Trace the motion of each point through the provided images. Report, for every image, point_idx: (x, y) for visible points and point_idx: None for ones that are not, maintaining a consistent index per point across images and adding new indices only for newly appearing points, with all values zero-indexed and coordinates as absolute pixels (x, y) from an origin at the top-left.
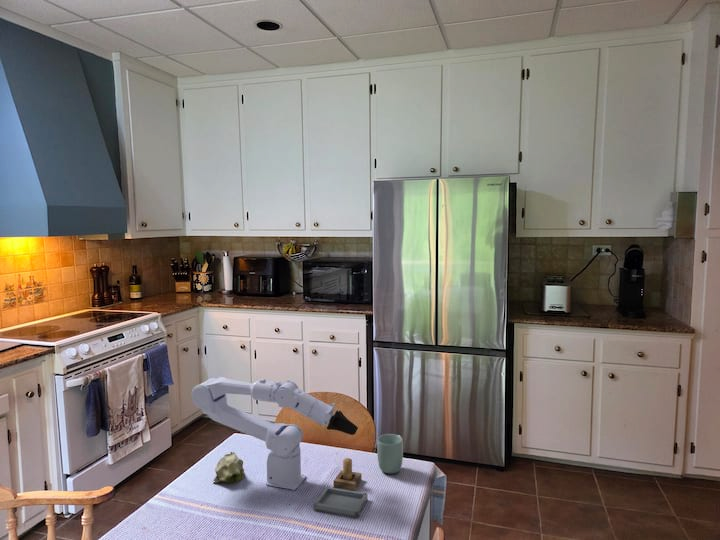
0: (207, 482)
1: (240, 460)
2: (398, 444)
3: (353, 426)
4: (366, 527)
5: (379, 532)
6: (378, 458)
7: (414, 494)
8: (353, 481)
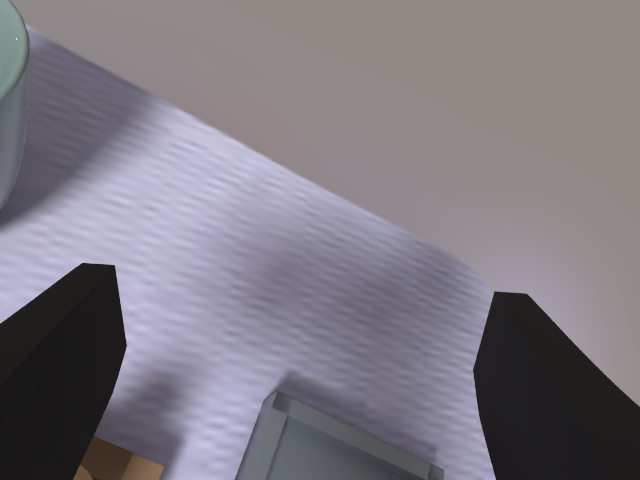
0: None
1: None
2: (19, 17)
3: (551, 324)
4: (478, 435)
5: None
6: None
7: (233, 162)
8: (126, 473)
